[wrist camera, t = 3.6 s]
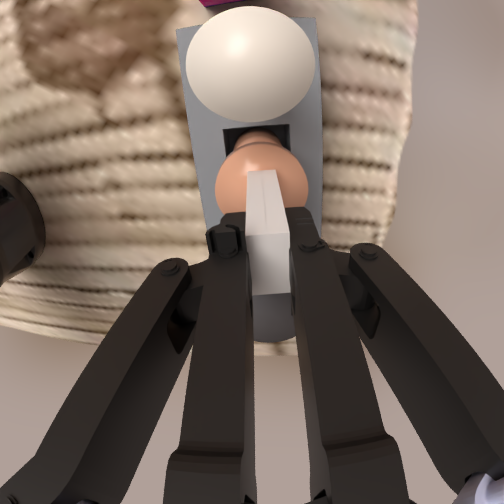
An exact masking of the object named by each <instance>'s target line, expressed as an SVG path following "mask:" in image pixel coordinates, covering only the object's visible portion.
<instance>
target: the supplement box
mask: <svg viewBox="0 0 504 504" xmlns="http://www.w3.org/2000/svg"><path fill="white" fill-rule="evenodd" d="M199 1H200V2H201V3H202V4H203V6H204V7H209V6H214V5H219V4H225V3H231V2H238V1H245V0H199Z"/></svg>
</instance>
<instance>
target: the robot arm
mask: <svg viewBox="0 0 504 504" xmlns="http://www.w3.org/2000/svg"><path fill="white" fill-rule="evenodd" d="M205 235H206V240H207V245H208V250H209V258H208V259H207V260H205V261H203V262H201V263H198V264H194V265H191V266H188V262H187V261H185V260H184V259H181V258H170V259H166V260H164V261H162V262H160V263H159V264H157V265H156V266H155V267H154V269H153V270H152V271H151V273H150V274H149V275H148V277H147V278H146V279H145V281H144V282H143V283H142V285H141V286H140V288H139V289H138V290H137V292H136V293H135V295H134V296H133V297H132V299H131V300H130V302H129V303H128V304H127V306H126V307H125V309H124V310H123V311H122V313H121V314H120V316H119V317H118V319H117V320H116V322H115V323H114V324H113V326H112V327H111V329H110V330H109V332H108V333H107V335H106V336H105V338H104V339H103V341H102V342H101V344H100V345H99V347H98V349H97V350H96V352H95V353H94V355H93V356H92V358H91V359H90V361H89V362H88V364H87V366H86V367H85V369H84V370H83V372H82V373H81V375H80V377H79V378H78V380H77V381H76V383H75V385H74V386H73V388H72V390H71V391H70V393H69V395H68V396H67V398H66V400H65V402H64V403H63V405H62V407H61V408H60V410H59V412H58V414H57V415H56V417H55V419H54V421H53V422H52V424H51V426H50V428H49V430H48V432H47V433H46V435H45V437H44V439H43V441H42V443H41V445H40V447H39V449H38V450H37V452H36V454H35V456H34V457H33V458H32V459H30V460H29V461H28V462H27V463H26V464H25V465H24V466H23V467H22V468H21V469H20V470H19V471H18V472H17V473H16V474H15V475H14V476H12V477H11V478H10V479H9V480H8V481H7V482H6V483H5V484H4V485H3V486H2V487H1V488H0V504H120V503H121V502H122V500H123V498H124V496H125V494H126V492H127V490H128V488H129V486H130V484H131V481H132V479H133V477H134V474H135V472H136V470H137V468H138V465H139V463H140V461H141V458H142V456H143V454H144V451H145V449H146V447H147V445H148V443H149V440H150V438H151V436H152V433H153V431H154V429H155V427H156V425H157V422H158V420H159V418H160V415H161V413H162V411H163V409H164V407H165V404H166V402H167V400H168V398H169V396H170V393H171V391H172V389H173V387H174V385H175V382H176V380H177V378H178V376H179V374H180V371H181V369H182V367H183V365H184V363H185V360H186V358H187V356H188V354H189V352H190V350H191V347H192V345H193V349H192V356H191V363H190V370H189V376H188V382H187V389H186V396H185V404H184V411H183V419H182V427H181V435H180V442H179V446H178V448H177V450H175V451H174V452H173V453H172V454H171V456H170V458H169V460H168V465H167V470H166V479H165V488H164V497H163V504H257V487H256V476H255V417H254V328H253V299H252V295H264V294H278V293H290V292H291V316H293V319H294V326H295V334H296V342H297V349H298V357H299V366H300V374H301V382H302V391H303V400H304V408H305V419H306V428H307V438H308V448H309V460H310V493H311V494H310V496H311V502H308V503H306V504H416V503H415V502H414V501H412V500H410V499H409V496H408V491H407V485H406V480H405V474H404V469H403V464H402V460H401V455H400V451H399V448H398V445H397V442H396V441H395V439H394V438H393V437H392V436H390V435H388V434H387V433H386V431H385V429H384V426H383V422H382V419H381V414H380V410H379V406H378V402H377V399H376V394H375V390H374V387H373V383H372V379H371V376H370V372H369V368H368V365H367V361H366V358H365V355H364V351H363V348H362V345H361V341H360V339H361V340H362V342H363V343H364V345H365V347H366V348H367V349H368V351H369V353H370V355H371V356H372V358H373V359H374V361H375V363H376V364H377V366H378V367H379V369H380V371H381V372H382V374H383V376H384V377H385V379H386V381H387V382H388V384H389V386H390V387H391V389H392V391H393V392H394V394H395V396H396V397H397V399H398V401H399V403H400V404H401V406H402V408H403V409H404V411H405V413H406V415H407V416H408V418H409V420H410V421H411V423H412V425H413V427H414V428H415V430H416V432H417V434H418V435H419V437H420V439H421V441H422V443H423V445H424V446H425V448H426V450H427V452H428V454H429V456H430V457H431V459H432V461H433V463H434V465H435V467H436V468H437V470H438V472H439V473H440V475H441V477H442V478H443V479H444V481H445V482H446V483H447V484H448V485H449V487H450V488H451V489H452V490H453V491H454V492H455V493H456V494H457V495H458V496H457V498H456V499H455V500H454V502H453V503H452V504H504V390H503V389H502V387H501V386H500V384H499V383H498V381H497V380H496V379H495V377H494V376H493V375H492V373H491V372H490V370H489V369H488V368H487V366H486V365H485V364H484V362H483V361H482V360H481V358H480V357H479V356H478V355H477V353H476V352H475V351H474V349H473V348H472V347H471V346H470V345H469V343H468V342H467V341H466V339H465V338H464V337H463V336H462V335H461V333H460V332H459V331H458V330H457V328H455V326H454V325H453V324H452V322H451V321H450V320H449V319H448V318H447V317H446V315H445V314H444V313H443V312H442V311H441V310H440V309H439V308H438V306H437V305H436V304H435V303H434V302H433V301H432V300H431V299H430V298H429V296H428V295H427V294H426V293H425V292H424V291H423V290H422V289H421V288H420V286H418V284H417V283H416V282H415V281H414V280H413V279H412V278H411V277H410V276H409V275H408V274H407V273H406V272H405V271H404V270H403V269H402V268H401V267H400V266H399V264H398V263H397V262H396V261H394V259H393V258H391V256H390V255H389V254H388V253H387V252H386V251H385V250H383V249H382V248H381V247H379V246H377V245H375V244H372V243H359V244H356V245H354V246H353V247H352V248H351V249H350V253H344V252H338V251H334V250H331V249H329V247H328V245H327V243H326V242H325V241H324V240H322V239H320V237H319V234H318V231H317V228H316V226H315V223H314V220H313V218H312V215H311V212H310V211H309V210H308V209H306V208H305V207H304V206H303V207H287V208H284V205H283V200H282V196H281V191H280V187H279V183H278V178H277V174H276V170H275V169H274V170H260V171H248V172H247V197H246V211H245V212H233V213H226V214H225V215H224V216H223V217H222V218H221V220H220V224H218V225H215V226H213V227H211V228H210V229H208V230H207V232H206V234H205ZM44 245H45V229H44V224H43V220H42V217H41V214H40V211H39V209H38V206H37V204H36V202H35V201H34V199H33V197H32V196H31V194H30V193H29V191H28V190H27V189H26V187H25V186H24V185H23V184H22V183H21V182H20V181H19V180H17V179H16V178H15V177H13V176H12V175H10V174H8V173H5V172H0V287H1V286H2V284H3V283H4V282H6V281H7V280H9V279H11V278H12V277H14V276H16V275H18V274H19V273H21V272H23V271H24V270H26V269H28V268H29V267H31V266H32V265H33V264H34V262H35V261H36V260H37V259H38V258H39V256H40V255H41V253H42V251H43V249H44ZM290 287H291V291H290ZM359 337H360V338H359Z"/></svg>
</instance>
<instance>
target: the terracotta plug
mask: <svg viewBox="0 0 504 504" xmlns="http://www.w3.org/2000/svg"><path fill="white" fill-rule="evenodd" d="M274 169H275V170H276V174H277V178H278V183H279V187H280V191H281V196H282V200H283V205H284V208H287V207H303V206H305V204H306V201H307V197H308V181H307V177H306V174H305V172H304V170H303V168H302V166H301V164H300V162H299V161H298V159H297V158H296V157H295V156H294V155H293V154H292V153H291V152H290V151H289V150H287V149H286V148H284V147H282V144H281V142H280V140H279V138H278V137H277V135H276V134H275V133H274V132H272V131H271V130H269V129H267V128H263V127H253V128H249V129H247V130H245V131H244V132H242V133H241V134H240V135H239V137H238V138H237V140H236V142H235V146H234V150H233V152H231V153H230V154H229V155H228V156H227V157H226V159H225V160H224V161H223V163H222V165H221V167H220V169H219V172H218V175H217V179H216V183H215V196H216V201H217V204H218V206H219V208H220V210H221V212H222V213H223V214H224V215H225V214H226V213H233V212H245V211H246V197H247V172H248V171H260V170H274Z"/></svg>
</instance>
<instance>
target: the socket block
mask: <svg viewBox="0 0 504 504" xmlns="http://www.w3.org/2000/svg"><path fill="white" fill-rule="evenodd" d="M289 18H290V19H292V20H293V21H294V22H295V23H296V24H298V25H299V26H300V28H301V29H302V30H303V31H304V32H305V34H306V35H307V37H308V38H309V41H310V43H311V45H312V48H313V51H314V56H315V72H314V77H313V81H312V84H311V86H310V88H309V90H308V92H307V93H306V95H305V96H304V98H303V99H302V100H301V101H300V102H299V103H298V104H297V105H296V106H295V107H294V108H292V109H291V110H290V111H288V112H287V113H285V114H283V115H281V116H279V117H276V118H274V119H270V120H267V121H261V122H239V121H234V120H230V119H227V118H224V117H222V116H220V115H218V114H216V113H214V112H213V111H211V110H210V109H208V108H207V107H206V106H205V105H203V103H202V102H201V101H200V100H199V99H198V98H197V97H196V95H195V94H194V92H193V90H192V88H191V87H190V84H189V81H188V78H187V74H186V55H187V51H188V48H189V45H190V42H191V40H192V39H193V37H194V35H195V34H196V32H197V31H198V30H199V29H200V27H201V26H202V25H197V26H192V27H187V28H182V29H177V30H176V35H177V44H178V52H179V60H180V68H181V76H182V83H183V90H184V98H185V104H186V111H187V118H188V124H189V131H190V137H191V143H192V150H193V156H194V162H195V167H196V173H197V179H198V185H199V190H200V196H201V201H202V207H203V212H204V217H205V223H206V228H207V230H208V229H210V228H211V227H213V226H215V225H218V224H220V220H221V218H222V217H223V216H224V214H223V213H222V212H221V210H220V208H219V206H218V204H217V201H216V196H215V183H216V179H217V175H218V172H219V169H220V167H221V165H222V163H223V161H224V160H225V159H226V157H227V156H228V155H229V154H230V153H231V152H233V150H234V146H235V142H236V140H237V138H238V137H239V135H240V134H241V133H242V132H244V131H245V130H247V129H249V128H253V127H263V128H267V129H269V130H271V131H272V132H274V133H275V134H276V135H277V137H278V138H279V140H280V142H281V144H282V147H284V148H286V149H287V150H289V151H290V152H291V153H292V154H293V155H294V156H295V157H296V158H297V159H298V161H299V162H300V164H301V166H302V168H303V170H304V172H305V174H306V177H307V181H308V197H307V201H306V204H305V206H304V207H305V208H306V209H308V210H309V211H310V212H311V215H312V218H313V220H314V223H315V226H316V228H317V231H318V234H319V237H320V239H321V224H322V185H323V140H322V102H321V81H320V64H319V50H318V38H317V27H316V18H306V17H289Z"/></svg>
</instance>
